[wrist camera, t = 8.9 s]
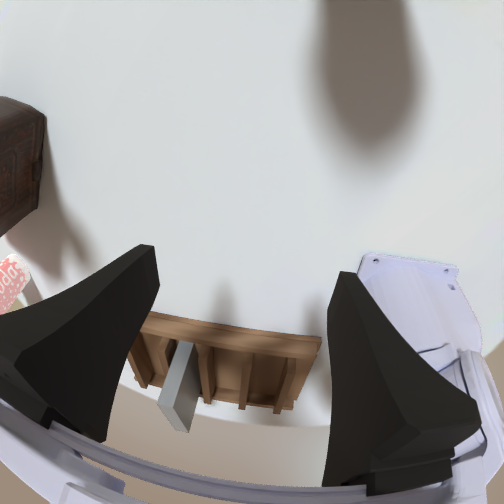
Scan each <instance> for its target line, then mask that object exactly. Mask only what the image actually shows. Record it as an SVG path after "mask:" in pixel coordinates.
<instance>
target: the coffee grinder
mask: <svg viewBox="0 0 504 504" xmlns="http://www.w3.org/2000/svg"><path fill="white" fill-rule="evenodd" d="M43 127H44V114H43V113H41V112H39V111H38V110H36V109H35V108H33V107H32V106H30V105H27V104H25V103H22V102H19V101H17V100H14V99H11V98H8V97H4V96H0V237H2V236H3V235H4V234H5V233H6V232H7V231H8V230H10V229H11V228H12V227H13V226H14V225H15V224H17V223H18V222H19V221H20V220H22V219H23V218H24V217H25V216H27V215H28V214H29V213H30V212H32V211H33V210H35V209H37V207H38V193H39V183H40V175H41V166H42V144H43Z"/></svg>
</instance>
